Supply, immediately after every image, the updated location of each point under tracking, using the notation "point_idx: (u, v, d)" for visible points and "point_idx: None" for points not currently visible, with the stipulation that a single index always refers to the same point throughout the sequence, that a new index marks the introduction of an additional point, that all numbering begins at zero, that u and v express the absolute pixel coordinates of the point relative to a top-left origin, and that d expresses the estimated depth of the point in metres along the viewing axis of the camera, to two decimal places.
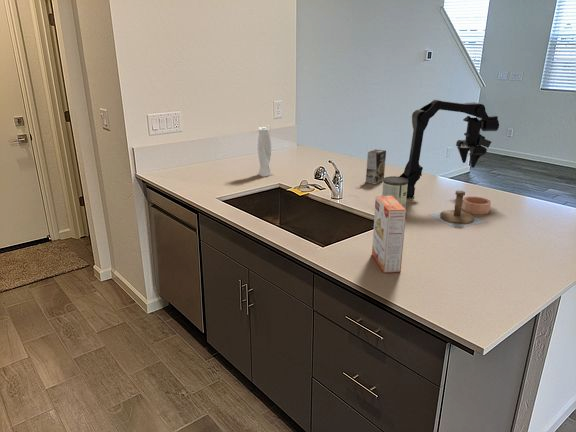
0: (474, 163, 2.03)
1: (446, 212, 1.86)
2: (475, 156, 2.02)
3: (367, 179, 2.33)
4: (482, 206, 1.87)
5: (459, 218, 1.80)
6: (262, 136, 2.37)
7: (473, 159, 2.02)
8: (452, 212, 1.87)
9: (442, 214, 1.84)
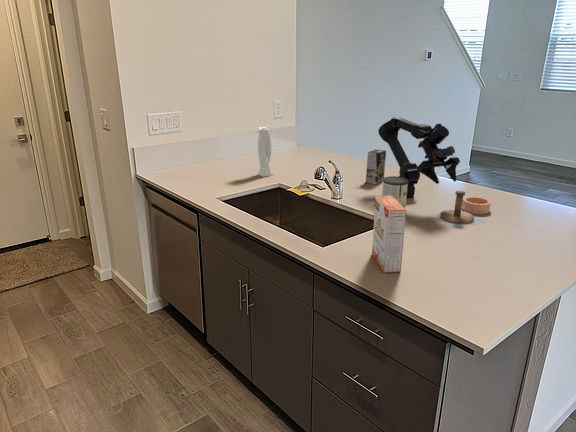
0: (434, 179, 1.85)
1: (446, 212, 1.86)
2: (430, 172, 1.86)
3: (367, 179, 2.33)
4: (482, 206, 1.87)
5: (459, 218, 1.80)
6: (262, 136, 2.37)
7: (430, 176, 1.86)
8: (452, 212, 1.87)
9: (442, 214, 1.84)
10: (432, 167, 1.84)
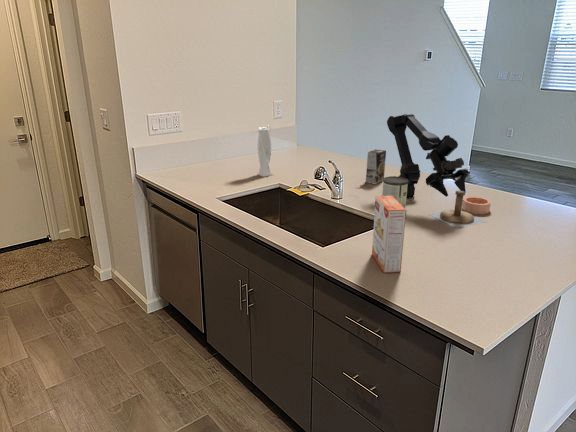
0: (443, 191, 1.81)
1: (446, 212, 1.86)
2: (439, 185, 1.82)
3: (367, 179, 2.33)
4: (482, 206, 1.87)
5: (459, 218, 1.80)
6: (262, 136, 2.37)
7: (439, 189, 1.82)
8: (452, 212, 1.87)
9: (442, 214, 1.84)
10: (441, 180, 1.80)
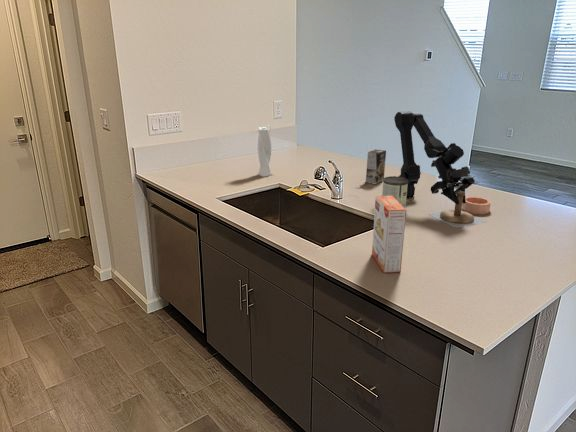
0: (454, 199, 1.80)
1: (446, 212, 1.86)
2: (450, 192, 1.81)
3: (367, 179, 2.33)
4: (482, 206, 1.87)
5: (459, 218, 1.80)
6: (262, 136, 2.37)
7: (450, 196, 1.81)
8: (452, 212, 1.87)
9: (442, 214, 1.84)
10: (452, 187, 1.79)
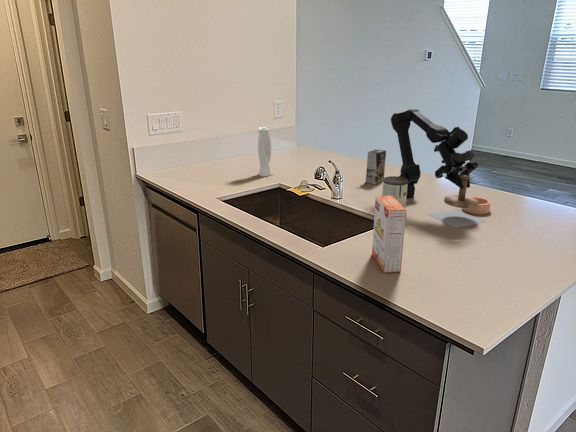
0: (459, 184, 1.78)
1: (450, 197, 1.85)
2: (454, 177, 1.79)
3: (367, 179, 2.33)
4: (482, 206, 1.87)
5: (464, 202, 1.78)
6: (262, 136, 2.37)
7: (454, 181, 1.80)
8: (456, 197, 1.85)
9: (446, 199, 1.82)
10: (456, 171, 1.77)
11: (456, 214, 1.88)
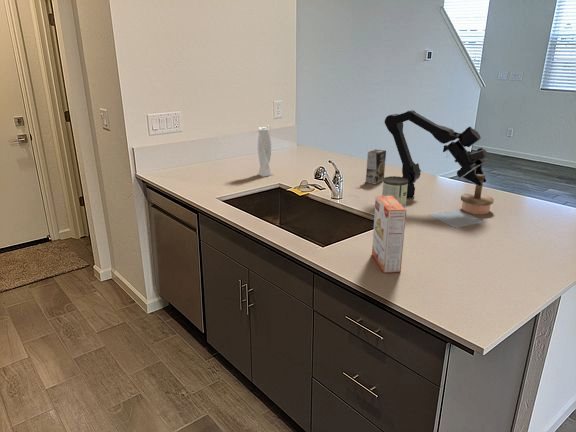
0: (477, 181, 1.86)
1: (465, 196, 1.93)
2: (471, 175, 1.86)
3: (367, 179, 2.33)
4: (482, 206, 1.87)
5: (483, 200, 1.89)
6: (262, 136, 2.37)
7: (472, 179, 1.87)
8: (469, 195, 1.95)
9: (466, 199, 1.90)
10: (475, 170, 1.84)
11: (456, 214, 1.88)
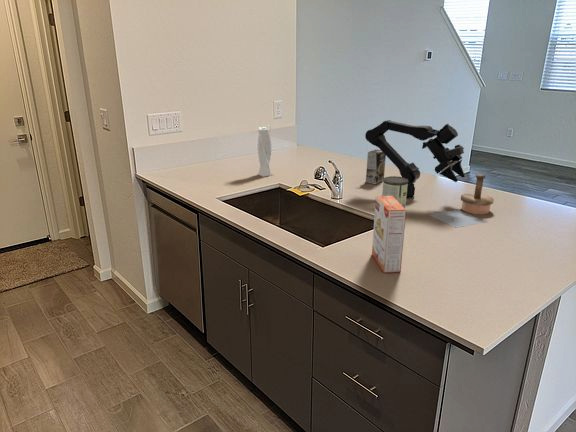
0: (453, 177, 1.90)
1: (465, 196, 1.93)
2: (448, 172, 1.91)
3: (367, 179, 2.33)
4: (482, 206, 1.87)
5: (483, 200, 1.89)
6: (262, 136, 2.37)
7: (448, 175, 1.91)
8: (469, 195, 1.95)
9: (466, 199, 1.90)
10: (451, 166, 1.89)
11: (456, 214, 1.88)
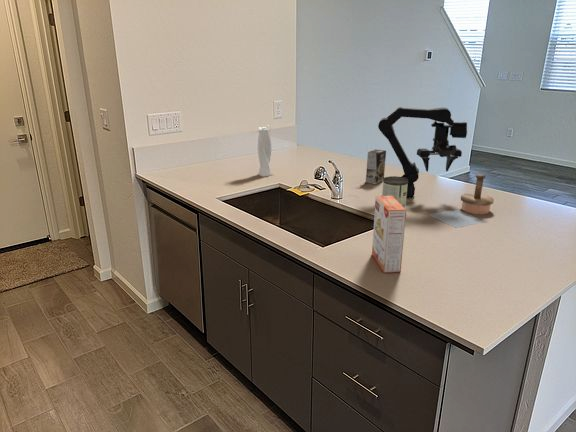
0: (425, 167, 2.03)
1: (465, 196, 1.93)
2: None
3: (367, 179, 2.33)
4: (482, 206, 1.87)
5: (483, 200, 1.89)
6: (262, 136, 2.37)
7: (424, 162, 2.04)
8: (469, 195, 1.95)
9: (466, 199, 1.90)
10: (427, 159, 2.00)
11: (456, 214, 1.88)
